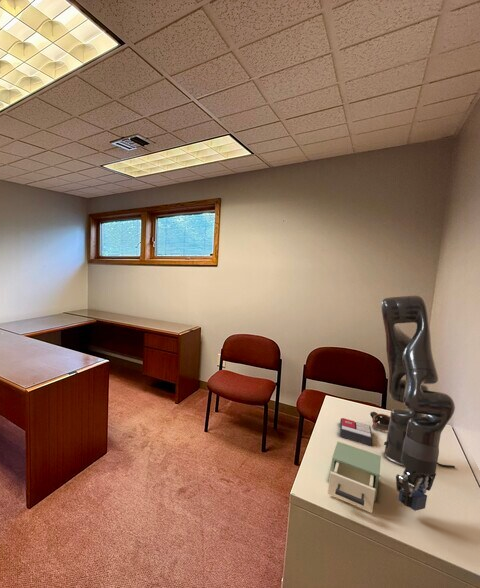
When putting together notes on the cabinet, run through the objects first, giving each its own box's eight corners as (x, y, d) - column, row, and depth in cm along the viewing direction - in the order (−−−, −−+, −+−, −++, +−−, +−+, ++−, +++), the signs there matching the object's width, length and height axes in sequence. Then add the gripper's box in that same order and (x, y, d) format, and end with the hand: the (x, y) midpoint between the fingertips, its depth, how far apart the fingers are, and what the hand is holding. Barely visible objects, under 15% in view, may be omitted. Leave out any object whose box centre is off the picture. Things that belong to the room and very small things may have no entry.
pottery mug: (402, 434, 149) (402, 422, 146) (383, 442, 150) (382, 430, 147) (378, 415, 161) (377, 404, 157) (360, 423, 161) (359, 412, 158)
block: (407, 497, 102) (409, 485, 102) (425, 508, 98) (427, 495, 97) (398, 500, 101) (400, 487, 101) (415, 511, 97) (417, 498, 96)
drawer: (371, 523, 96) (374, 499, 95) (325, 502, 104) (328, 480, 103) (374, 491, 110) (377, 470, 109) (332, 474, 118) (335, 455, 117)
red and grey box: (370, 424, 150) (372, 436, 138) (369, 433, 150) (371, 445, 138) (340, 416, 156) (340, 427, 145) (339, 425, 157) (339, 436, 145)
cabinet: (375, 501, 106) (379, 474, 105) (328, 482, 115) (332, 457, 114) (377, 479, 117) (380, 455, 116) (334, 463, 126) (337, 441, 124)
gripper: (420, 443, 103) (412, 490, 105) (388, 449, 99) (381, 498, 101) (451, 457, 96) (442, 508, 98) (418, 464, 92) (409, 517, 94)
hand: (411, 503), depth 100 cm, fingers closed on block, 4 cm apart
